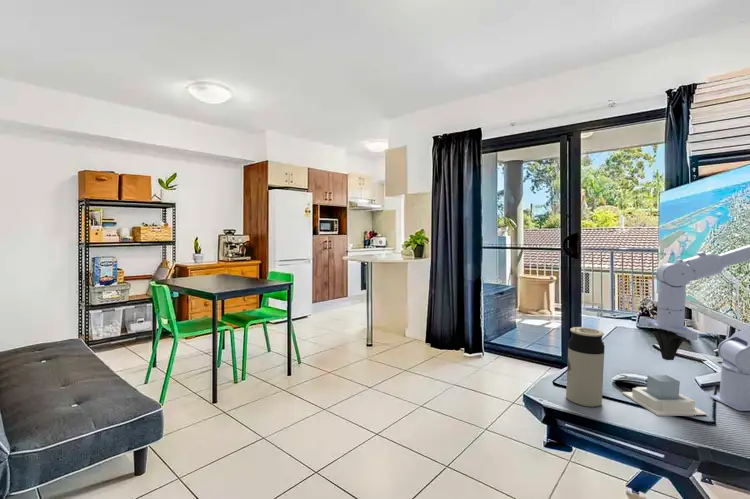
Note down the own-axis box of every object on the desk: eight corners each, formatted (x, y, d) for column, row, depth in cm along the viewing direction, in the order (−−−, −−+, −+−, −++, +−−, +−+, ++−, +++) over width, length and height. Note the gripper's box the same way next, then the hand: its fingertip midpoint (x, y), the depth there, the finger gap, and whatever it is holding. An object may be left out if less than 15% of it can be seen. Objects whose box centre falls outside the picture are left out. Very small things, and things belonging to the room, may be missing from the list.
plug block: (665, 398, 97) (666, 375, 97) (678, 405, 93) (679, 381, 93) (646, 398, 97) (647, 375, 97) (658, 405, 93) (660, 381, 93)
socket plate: (665, 393, 101) (666, 384, 101) (706, 415, 89) (707, 405, 89) (622, 393, 101) (622, 384, 101) (657, 415, 89) (658, 405, 89)
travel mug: (603, 399, 97) (606, 330, 96) (599, 410, 91) (603, 336, 90) (569, 391, 102) (572, 325, 101) (563, 401, 96) (566, 330, 95)
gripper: (636, 303, 107) (633, 350, 108) (679, 314, 93) (676, 369, 94) (660, 303, 108) (657, 350, 108) (706, 314, 93) (703, 369, 94)
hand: (667, 359), depth 101 cm, fingers closed
